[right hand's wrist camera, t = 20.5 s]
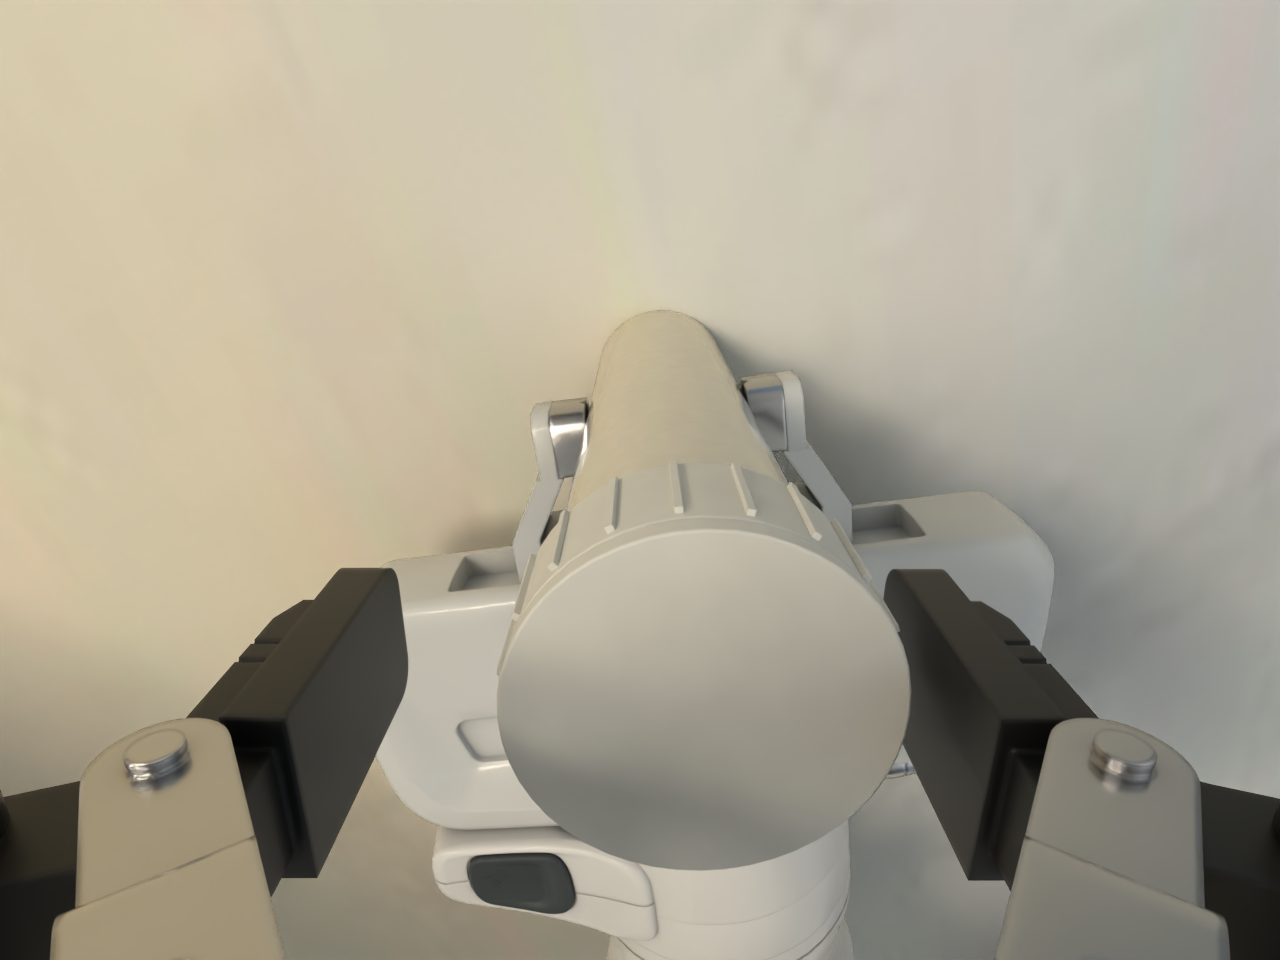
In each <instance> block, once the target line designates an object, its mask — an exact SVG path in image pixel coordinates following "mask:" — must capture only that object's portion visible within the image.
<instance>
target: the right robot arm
mask: <svg viewBox="0 0 1280 960" xmlns="http://www.w3.org/2000/svg"><path fill="white" fill-rule="evenodd" d="M883 600H884V602H885V604H886V605H887V607H888V609H889V610H890V612H891V614H892V615H893V617H894V619H895V620H896V622H897V624H898V626H899V629H900V632H897V633H898V635H899V637H900V639H901V642H902V644H903V646H904V650H905V654H906V658H907V661H908V665H909V670H910V680H911V689H912V692H911V709H910V717H909V722H908V726H907V731H906V735H905V738H904V741H903V746H904V748H905V750H906V752H907V754H908V756H909V758H910V761H911V763H912V765H913V767H914V769H915V771H916V773H917V775H918V777H919V779H920V781H921V783H922V785H923V787H924V790H925V792H926V794H927V796H928V798H929V800H930V802H931V804H932V806H933V808H934V810H935V812H936V814H937V816H938V819H939V821H940V823H941V825H942V827H943V829H944V831H945V833H946V835H947V837H948V839H949V841H950V843H951V845H952V848H953V850H954V852H955V854H956V856H957V858H958V860H959V862H960V864H961V866H962V868H963V870H964V872H965V874H966V877H967V879H968V880H1005V882H1006V884H1007V886H1008V887H1009V889H1010V891H1011V893H1010V897H1009V902H1008V906H1007V910H1006V914H1005V918H1004V922H1003V926H1002V930H1001V934H1000V938H999V942H998V947H997V951H996V955H995V959H994V960H1280V799H1278V798H1273V797H1268V796H1264V795H1259V794H1254V793H1249V792H1245V791H1240V790H1235V789H1231V788H1226V787H1221V786H1216V785H1212V784H1208V783H1204V782H1200V781H1199V778H1198V776H1197V774H1196V772H1195V770H1194V769H1193V767H1192V766H1191V765H1190V763H1189V762H1188V761H1187V760H1186V759H1185V758H1184V757H1183V756H1182V755H1181V754H1179V753H1178V752H1177V751H1176V750H1174V749H1173V748H1172V747H1170V746H1169V745H1167V744H1166V743H1164V742H1163V741H1161V740H1159V739H1157V738H1156V737H1154V736H1152V735H1150V734H1148V733H1146V732H1143V731H1141V730H1139V729H1136V728H1134V727H1131V726H1128V725H1125V724H1122V723H1118V722H1114V721H1110V720H1104V719H1099V718H1098V717H1097V716H1096V715H1095V714H1094V712H1093V711H1092V710H1091V709H1090V708H1089V707H1088V706H1087V705H1086V703H1085V702H1084V701H1083V700H1082V699H1081V698H1080V697H1079V695H1078V694H1077V693H1076V692H1075V691H1074V690H1073V689H1072V688H1071V686H1070V685H1069V684H1068V683H1067V682H1066V681H1065V680H1064V679H1063V677H1062V676H1061V675H1060V674H1059V673H1058V672H1057V671H1056V669H1055V668H1054V667H1053V666H1052V665H1051V664H1047V663H1046V658H1045V657H1044V656H1043V655H1042V654H1041V653H1040V651H1039V650H1038V649H1037V648H1036V647H1035V646H1034V645H1031V644H1030V640H1029V639H1028V638H1027V637H1026V636H1025V634H1024V633H1023V632H1022V631H1021V630H1020V629H1019V628H1018V627H1017V625H1016V624H1015V623H1014V622H1013V621H1012V620H1011V619H1010V618H1008V617H1006V616H1005V615H1003V614H1001V613H1000V612H998V611H996V610H995V609H993V608H991V607H990V606H988V605H987V604H985V603H983V602H982V601H970V600H969V598H968V597H967V596H966V595H965V594H964V592H963V591H962V590H961V589H960V588H959V586H958V585H957V584H956V583H955V582H954V580H953V579H952V578H951V577H950V575H949V574H948V573H947V572H946V571H945V570H943V569H892V570H891V571H890V572H889V574H888V576H887V579H886V583H885V589H884V597H883ZM407 678H408V651H407V643H406V636H405V628H404V620H403V612H402V604H401V596H400V589H399V582H398V578H397V575H396V573H395V571H394V570H393V569H392V568H341V569H339V570H338V571H337V572H336V574H335V575H334V576H333V577H332V579H331V580H330V581H329V582H328V583H327V585H326V586H325V587H324V588H323V590H322V591H321V592H320V593H319V594H318V596H317V597H316V598H315V599H314V600H303V601H301V602H299V603H298V604H296V605H294V606H293V607H291V608H290V609H288V610H286V611H285V612H283V613H281V614H280V615H278V616H276V617H275V618H273V619H272V621H271V622H270V623H269V624H268V625H267V626H266V627H265V629H264V630H263V631H262V632H261V633H260V634H259V635H258V636H257V638H256V639H255V643H254V644H250V646H249V647H248V648H247V649H246V650H245V651H244V652H243V654H242V655H241V656H240V657H239V662H235V663H234V664H233V665H232V666H231V667H230V668H229V670H228V671H227V672H226V673H225V674H224V675H223V676H222V678H221V679H220V680H219V681H218V682H217V683H216V684H215V686H214V687H213V688H212V689H211V690H210V691H209V692H208V694H207V695H206V696H205V697H204V698H203V699H202V700H201V702H200V703H199V704H198V705H197V706H196V707H195V708H194V710H193V711H192V712H191V713H190V714H189V715H188V716H187V718H183V719H176V720H170V721H166V722H162V723H158V724H155V725H152V726H149V727H146V728H144V729H141V730H139V731H137V732H134V733H132V734H130V735H128V736H126V737H124V738H123V739H121V740H119V741H117V742H116V743H114V744H113V745H111V746H110V747H108V748H107V749H106V750H104V751H103V752H102V753H101V754H99V755H98V756H97V757H96V758H95V759H94V760H93V761H92V762H91V763H90V765H89V766H88V767H87V769H86V770H85V772H84V774H83V776H82V778H81V781H78V782H74V783H69V784H64V785H59V786H55V787H50V788H45V789H40V790H36V791H31V792H26V793H21V794H17V795H12V796H7V797H3V796H2V793H1V791H0V960H286V959H285V955H284V951H283V947H282V942H281V938H280V934H279V930H278V926H277V922H276V918H275V914H274V910H273V906H272V902H271V896H272V895H273V893H274V891H275V889H276V887H277V885H278V883H279V881H280V879H281V878H317V877H318V875H319V873H320V871H321V869H322V867H323V865H324V863H325V861H326V858H327V856H328V854H329V852H330V850H331V848H332V846H333V844H334V842H335V840H336V837H337V835H338V833H339V831H340V829H341V827H342V825H343V823H344V821H345V819H346V816H347V814H348V812H349V810H350V808H351V806H352V804H353V802H354V800H355V798H356V795H357V793H358V791H359V789H360V787H361V785H362V783H363V781H364V779H365V777H366V774H367V772H368V770H369V768H370V766H371V764H372V762H373V760H374V758H375V756H376V753H377V751H378V749H379V747H380V745H381V743H382V741H383V739H384V737H385V735H386V732H387V730H388V728H389V726H390V724H391V722H392V720H393V718H394V716H395V714H396V711H397V709H398V707H399V705H400V703H401V701H402V699H403V696H404V693H405V689H406V685H407Z"/></svg>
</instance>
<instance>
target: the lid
mask: <svg viewBox="0 0 1280 960" xmlns="http://www.w3.org/2000/svg"><path fill="white" fill-rule="evenodd" d="M871 579H872V576H871V575H870V573H869V571H868V570H867V568H866V566H865V565H864V563H863V561H862V560H861V558H860V557H859V555H858V553H857V552H856V550H855V548H854V547H853V545H852V543H851V542H850V540H849V538H848V537H847V535H846V533H845V532H844V530H843V528H842V527H841V525H840V523H839V522H838V521H837V520H836V519H835V518H834V519H833V520H832V521H830V520H829V519H828V518H827V517H826V516H825V515H824V514H823V512H822V511H821V510H820V509H819V508H817V507H816V506H815V505H814V504H813V503H811V502H810V501H809V500H808V499H807V498H806V497H804V496H803V495H801V494H800V492H799V490H798V488H797V486H796V485H794V484H793V483H791V482H790V483H789V484H788V486H787V485H785V484H784V483H781V482H779V481H777V480H775V479H773V478H770V477H768V476H766V475H764V474H761V473H757V472H754V471H751V470H748V469H744V468H741V466H740V464H739V463H735V462H732V464H731V466H730V465H724V464H718V463H697V462H691V463H679V464H677V460H672V461H669V464H668V465H663V466H658V467H653V468H648V469H644V470H641V471H638V472H635V473H632V474H629V475H626V476H623V477H621V478H619V479H617V477H616V476H615V477H612V478H610V479H609V484H607V485H605V486H603V487H601V488H599V489H598V490H596V491H595V492H593V493H592V494H590V495H589V496H587V497H586V498H584V499H583V500H582V501H580V502H579V503H578V504H577V505H576V506H575V507H573V508H572V509H571V510H570V511H567V510H566V509H564V510H563V511H562V512H561V513H560V517H559V521H558V523H557V525H556V526H555V527H554V528H553V529H552V530H551V532H550V533H549V535H548V536H547V538H546V539H545V541H544V542H543V544H542V545H541V547H540V548H539V551H538V553H537V555H534V554H532V553H531V555H530V557H529V559H528V562H527V565H526V569H525V572H524V575H523V578H522V582H521V585H520V588H519V592H518V595H517V598H516V602H515V605H514V608H513V612H512V615H511V619H512V620H511V623H510V627H509V630H508V633H507V637H506V640H505V643H504V647H503V650H502V654H501V657H500V660H499V664H498V667H497V675H498V676H499V683H498V690H497V720H498V726H499V731H500V736H501V741H502V744H503V747H504V750H505V753H506V755H507V758H508V761H509V763H510V765H511V767H512V769H513V771H514V773H515V775H516V777H517V779H518V781H519V782H520V784H521V785H522V786H523V788H524V789H525V791H526V792H527V793H528V795H529V796H530V797H531V799H532V800H533V801H534V802H535V803H536V804H537V805H538V806H539V807H540V809H541V810H542V811H543V812H544V813H545V814H546V815H547V816H548V817H549V818H551V819H552V820H553V821H554V822H556V823H557V824H558V825H559V826H561V827H562V828H563V829H564V830H565V831H567V832H569V833H570V834H572V835H573V836H575V837H577V838H578V839H580V840H581V841H583V842H585V843H586V844H588V845H591V846H593V847H595V848H597V849H599V850H601V851H603V852H605V853H607V854H610V855H613V856H616V857H619V858H622V859H625V860H627V861H631V862H635V863H639V864H643V865H647V866H652V867H658V868H666V869H673V870H692V871H706V870H722V869H730V868H737V867H743V866H749V865H753V864H757V863H761V862H765V861H768V860H772V859H775V858H778V857H781V856H783V855H786V854H789V853H791V852H794V851H797V850H799V849H801V848H803V847H805V846H807V845H809V844H811V843H813V842H815V841H817V840H818V839H820V838H822V837H823V836H825V835H826V834H828V833H829V832H831V831H833V830H834V829H836V828H837V827H839V826H840V825H841V824H842V823H844V822H845V821H846V820H847V819H848V818H850V817H851V816H852V815H853V814H855V813H856V812H857V811H858V810H859V809H860V808H861V807H862V806H863V805H864V804H865V803H866V802H867V801H868V800H869V799H870V797H871V796H872V795H873V794H874V793H875V791H876V790H877V789H878V787H879V786H880V785H881V783H882V782H883V781H884V779H885V778H886V777H887V775H888V773H889V771H890V769H891V768H892V766H893V764H894V762H895V760H896V759H897V757H898V754H899V751H900V749H901V746H902V744H903V741H904V738H905V735H906V731H907V726H908V722H909V717H910V709H911V692H912V689H911V680H910V670H909V665H908V661H907V658H906V654H905V650H904V646H903V644H902V642H901V639H900V637H899V635H898V633H897V632H900V629H899V626H898V624H897V622H896V620H895V619H894V617H893V615H892V614H891V612H890V610H889V609H888V607H887V605H886V604H885V602H884V600H883V599H882V597H881V595H880V594H879V592H878V590H877V589H876V587H875V585H874V584H873V582H872V580H871Z"/></svg>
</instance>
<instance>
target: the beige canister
mask: <svg viewBox="0 0 1280 960" xmlns="http://www.w3.org/2000/svg"><path fill="white" fill-rule="evenodd" d="M672 460H677V464H679V463H691V462H697V463H718V464H724V465H730V466H731V464H732V462H735V463H739V464H740V466H741V468H744V469H748V470H751V471H754V472H757V473H761V474H764V475H766V476H768V477H770V478H773V479H775V480H777V481H779V482H781V483H784V484H785V485H787V486H788V484H789V483H788V481H787V480H786V478H785V476H784V474H783V472H782V470H781V468H780V466H779V464H778V462H777V460H776V458H775V456H774V454H773V452H772V450H771V448H770V446H769V444H768V442H767V441H766V439H765V437H764V435H763V433H762V431H761V429H760V427H759V425H758V423H757V421H756V419H755V417H754V415H753V413H752V411H751V409H750V407H749V405H748V404H747V402H746V400H745V398H744V396H743V394H742V392H741V390H740V388H739V386H738V384H737V382H736V380H735V378H734V376H733V374H732V372H731V370H730V368H729V366H728V365H727V363H726V361H725V359H724V357H723V355H722V353H721V351H720V349H719V347H718V345H717V343H716V341H715V340H714V338H713V337H712V335H711V334H710V333H709V331H708V330H707V329H706V328H705V327H704V326H703V325H701V324H700V323H699V322H697V321H696V320H694V319H693V318H691V317H689V316H687V315H684V314H681V313H678V312H674V311H666V310H658V311H650V312H645V313H642V314H639V315H637V316H635V317H633V318H631V319H629V320H628V321H626V322H625V323H623V324H622V325H621V326H620V327H619V328H618V329H617V330H616V331H615V332H614V333H613V334H612V335H611V337H610V338H609V340H608V342H607V343H606V346H605V348H604V350H603V353H602V356H601V360H600V364H599V369H598V373H597V377H596V382H595V386H594V390H593V395H592V399H591V404H590V408H589V412H588V417H587V421H586V425H585V430H584V434H583V438H582V443H581V447H580V452H579V456H578V460H577V465H576V469H575V473H574V478H573V482H572V487H571V491H570V495H569V500H568V504H567V508H566V510H567V511H570V510H571V509H572V508H573V507H575V506H576V505H577V504H578V503H579V502H580V501H582V500H583V499H584V498H586V497H587V496H589V495H590V494H592V493H593V492H595V491H596V490H598V489H599V488H601V487H603V486H605V485H607V484H609V479H610V478H612V477H615V476H616V477H617V479H619V478H621V477H623V476H626V475H629V474H632V473H635V472H638V471H641V470H644V469H648V468H653V467H658V466H663V465H668V464H669V461H672Z"/></svg>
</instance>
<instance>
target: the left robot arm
mask: <svg viewBox="0 0 1280 960" xmlns="http://www.w3.org/2000/svg"><path fill="white" fill-rule="evenodd" d="M739 386H740V390H741V392H742V394H743V396H744V398H745V400H746V402H747V404H748V405H749V407H750V409H751V411H752V413H753V415H754V417H755V419H756V421H757V423H758V425H759V427H760V429H761V431H762V433H763V435H764V437H765V439H766V441H767V442H768V444H769V446H770V448H771V450H772V452H774V451H782V452H783V454H784V455H785V457H786V458H787V459H788V461H789V462H790V463H791V465H792V466H793V467H794V469H795V470H796V472H797V473H798V474H799V476H800V477H801V478H802V480H803V481H804V482H792V483H793V484H794V485H796V486H797V488H798V490H799V492H800V494H801V495H803V496H804V497H806V498H807V499H808V500H809V501H810V502H811V503H813V504H814V505H815V506H816V507H817V508H819V509H820V510H821V511H822V512H823V514H824V515H825V516H826V517H827V518H828V519H829V520H830V521H832V520H833V519H834V518H835V519H836V520H837V521H838V522H839V523H840V525H841V527H842V528H843V530H844V532H845V533H846V535H847V537H848V538H849V540H850V542H851V543H852V545H853V547H854V548H855V550H856V552H857V553H858V555H859V557H860V558H861V560H862V561H863V563H864V565H865V566H866V568H867V570H868V571H869V573H870V575H871V576H872V579H871V580H872V582H873V584H874V585H875V587H876V589H877V590H878V592H879V594H880V595H881V597H882V599H883V597H884V589H885V583H886V579H887V576H888V574H889V572H890V571H891V570H892V569H943V570H945V571H946V572H947V573H948V574H949V575H950V577H951V578H952V579H953V580H954V582H955V583H956V584H957V585H958V586H959V588H960V589H961V590H962V591H963V592H964V594H965V595H966V596H967V597H968V598H969V600H970V601H982V602H983V603H985V604H987V605H988V606H990V607H991V608H993V609H995V610H996V611H998V612H1000V613H1001V614H1003V615H1005V616H1006V617H1008V618H1010V619H1011V620H1012V621H1013V622H1014V623H1015V624H1016V625H1017V627H1018V628H1019V629H1020V630H1021V631H1022V632H1023V633H1024V634H1025V636H1026V637H1027V638H1028V639H1029V640H1030V644H1031V645H1034V646H1035V647H1036V648H1037V649H1038V650H1039V651H1040V652H1041V648H1042V643H1043V639H1044V634H1045V630H1046V625H1047V620H1048V614H1049V609H1050V603H1051V596H1052V590H1053V582H1054V561H1053V557H1052V555H1051V552H1050V551H1049V549H1048V548H1047V546H1046V544H1045V543H1044V542H1043V541H1042V539H1041V538H1040V537H1039V536H1038V535H1037V534H1036V533H1035V532H1034V531H1033V530H1032V529H1031V528H1030V527H1029V526H1028V525H1027V524H1026V523H1025V522H1024V521H1023V520H1022V519H1021V518H1020V517H1019V516H1017V515H1016V514H1015V513H1014V512H1012V511H1011V510H1010V509H1008V508H1007V507H1006V506H1004V505H1003V504H1002V503H1000V502H999V501H998V500H996V499H995V498H994V497H992V496H991V495H989V494H987V493H984V492H980V491H967V492H959V493H950V494H942V495H934V496H925V497H917V498H909V499H900V500H892V501H884V502H875V503H867V504H859V505H851V503H850V501H849V500H848V498H847V497H846V495H845V494H844V493H843V491H842V490H841V488H840V487H839V485H838V484H837V482H836V481H835V479H834V478H833V476H832V475H831V474H830V472H829V471H828V469H827V468H826V467H825V465H824V464H823V462H822V461H821V460H820V458H819V457H818V455H817V454H816V453H815V451H814V450H813V448H812V447H811V446H810V444H809V443H808V441H807V440H806V428H805V411H804V394H803V390H802V385H801V381H800V379H799V378H798V376H797V375H796V374H795V373H794V372H793V371H784V372H777V373H769V374H762V375H755V376H748V377H740V380H739ZM589 408H590V406H589V402H588V399H587V398H578V399H569V400H560V401H549V402H543V403H537V404H535V406H534V408H533V410H532V412H531V433H532V438H533V444H534V449H535V454H536V459H537V465H538V470H539V474H538V477H537V479H536V482H535V484H534V487H533V490H532V492H531V495H530V497H529V500H528V503H527V505H526V508H525V510H524V513H523V516H522V518H521V521H520V524H519V527H518V529H517V532H516V535H515V537H514V540H513V543H512V546H508V547H499V548H491V549H482V550H474V551H466V552H457V553H449V554H440V555H432V556H424V557H415V558H406V559H398V560H393V561H390V562H387V563H386V564H384V565H383V566H382V567H381V568H392V569H393V570H394V571H395V573H396V575H397V578H398V582H399V589H400V596H401V604H402V612H403V620H404V628H405V636H406V643H407V651H408V678H407V685H406V689H405V693H404V696H403V699H402V701H401V703H400V705H399V707H398V709H397V711H396V714H395V716H394V718H393V720H392V722H391V724H390V726H389V728H388V730H387V732H386V735H385V737H384V739H383V741H382V743H381V745H380V747H379V749H378V751H377V753H376V758H377V761H378V763H379V765H380V767H381V769H382V771H383V773H384V775H385V777H386V779H387V781H388V782H389V784H390V786H391V787H392V789H393V790H394V792H395V793H396V795H397V796H398V797H399V799H400V800H401V801H402V802H403V803H404V804H405V805H406V806H407V807H408V808H409V809H410V810H411V811H412V812H414V813H415V814H416V815H418V816H419V817H421V818H423V819H424V820H426V821H428V822H430V823H433V824H436V825H438V827H437V832H436V838H435V844H434V850H433V857H432V868H433V874H434V877H435V880H436V883H437V885H438V887H439V889H440V890H441V892H442V893H443V894H444V895H446V896H447V897H449V898H450V899H452V900H455V901H458V902H461V903H466V904H471V905H478V906H485V907H492V908H500V909H506V910H513V911H519V912H525V913H530V914H536V915H541V916H546V917H551V918H555V919H559V920H564V921H568V922H571V923H575V924H579V925H582V926H586V927H589V928H592V929H595V930H598V931H601V932H604V933H607V934H609V935H610V942H609V947H608V953H607V957H606V960H854V954H853V947H852V941H851V938H850V934H849V930H848V927H847V924H846V921H845V919H844V916H845V912H846V909H847V905H848V901H849V892H850V883H851V872H850V848H849V823H848V819H847V820H846V821H845V822H844V823H842V824H841V825H840V826H839V827H837V828H836V829H834V830H833V831H831V832H829V833H828V834H826V835H825V836H823V837H822V838H820V839H818V840H817V841H815V842H813V843H811V844H809V845H807V846H805V847H803V848H801V849H799V850H797V851H794V852H791V853H789V854H786V855H783V856H781V857H778V858H775V859H772V860H768V861H765V862H761V863H757V864H753V865H749V866H743V867H737V868H730V869H722V870H706V871H692V870H673V869H666V868H658V867H652V866H647V865H643V864H639V863H635V862H631V861H627V860H625V859H622V858H619V857H616V856H613V855H610V854H607V853H605V852H603V851H601V850H599V849H597V848H595V847H593V846H591V845H588V844H586V843H585V842H583V841H581V840H580V839H578V838H577V837H575V836H573V835H572V834H570V833H569V832H567V831H565V830H564V829H563V828H562V827H561V826H559V825H558V824H557V823H556V822H554V821H553V820H552V819H551V818H549V817H548V816H547V815H546V814H545V813H544V812H543V811H542V810H541V809H540V807H539V806H538V805H537V804H536V803H535V802H534V801H533V800H532V799H531V797H530V796H529V795H528V793H527V792H526V791H525V789H524V788H523V786H522V785H521V784H520V782H519V781H518V779H517V777H516V775H515V773H514V771H513V769H512V767H511V765H510V763H509V761H508V758H507V755H506V753H505V750H504V747H503V744H502V741H501V736H500V731H499V726H498V720H497V690H498V683H499V676H498V675H497V667H498V664H499V660H500V657H501V654H502V650H503V647H504V643H505V640H506V637H507V633H508V630H509V627H510V623H511V620H512V619H511V615H512V612H513V608H514V605H515V602H516V598H517V595H518V592H519V588H520V585H521V582H522V578H523V575H524V572H525V569H526V565H527V562H528V559H529V557H530V555H531V553H532V554H534V555H537V553H538V551H539V548H540V547H541V545H542V544H543V542H544V541H545V539H546V538H547V536H548V535H549V533H550V532H551V530H552V529H553V528H554V527H555V526H556V525H557V523H558V521H559V517H560V513H561V512H562V511H553V512H552V513H551V511H552V508H553V506H554V503H555V501H556V498H557V496H558V493H559V491H560V488H561V485H562V483H563V480H564V478H565V477H572V476H574V473H575V469H576V465H577V460H578V456H579V452H580V447H581V443H582V438H583V434H584V430H585V425H586V421H587V417H588V412H589ZM550 513H551V514H550ZM913 773H914V774H916V771H915V769H914V767H913V765H912V763H911V761H910V758H909V756H908V754H907V752H906V750H905V748H904V746H903V744H902V746H901V749H900V751H899V754H898V757H897V759H896V760H895V762H894V764H893V766H892V768H891V769H890V771H889V773H888V775H887V777H886V778H885V779H892V778H898V777H903V776H904V775H905V776H907V775H912V774H913Z"/></svg>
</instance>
